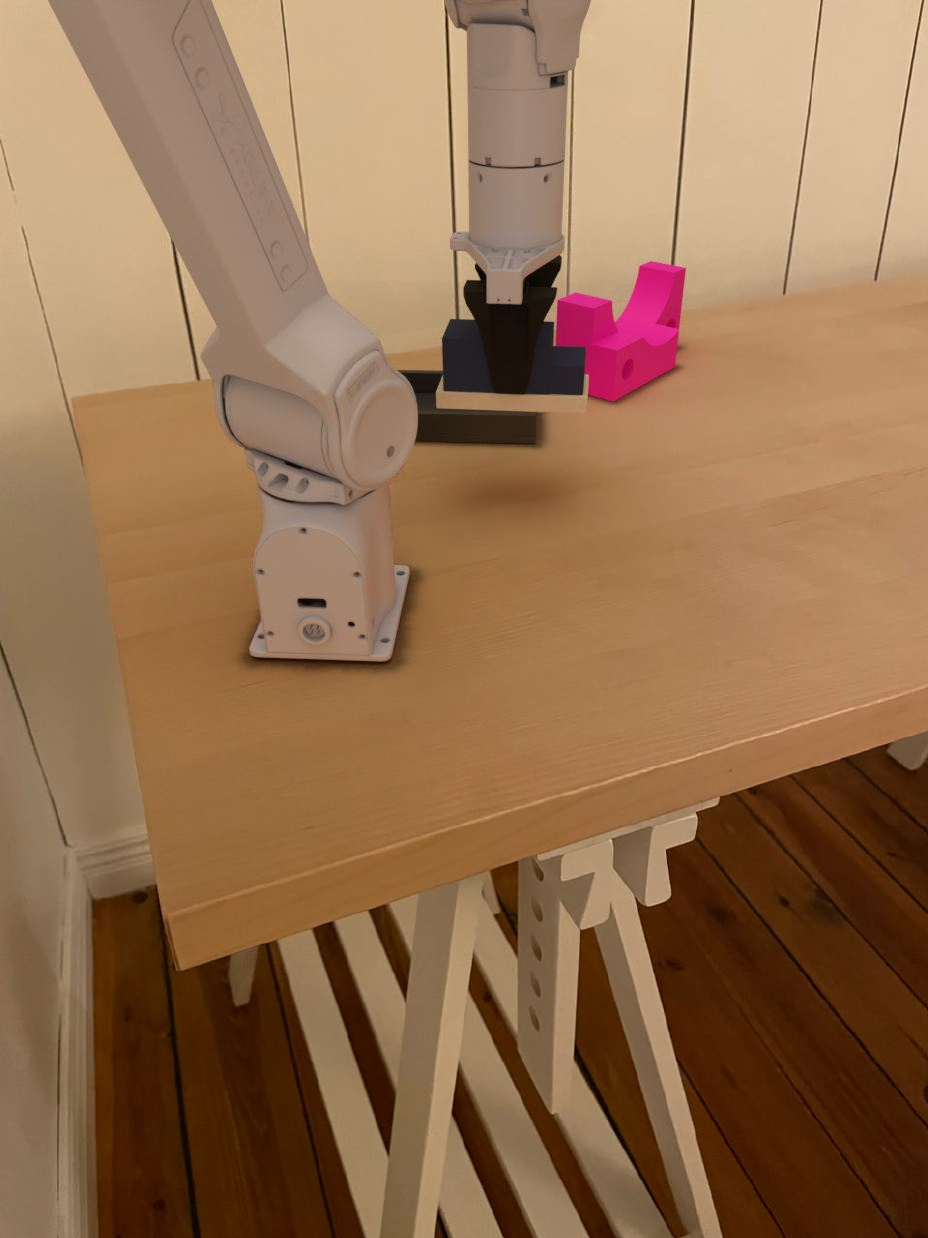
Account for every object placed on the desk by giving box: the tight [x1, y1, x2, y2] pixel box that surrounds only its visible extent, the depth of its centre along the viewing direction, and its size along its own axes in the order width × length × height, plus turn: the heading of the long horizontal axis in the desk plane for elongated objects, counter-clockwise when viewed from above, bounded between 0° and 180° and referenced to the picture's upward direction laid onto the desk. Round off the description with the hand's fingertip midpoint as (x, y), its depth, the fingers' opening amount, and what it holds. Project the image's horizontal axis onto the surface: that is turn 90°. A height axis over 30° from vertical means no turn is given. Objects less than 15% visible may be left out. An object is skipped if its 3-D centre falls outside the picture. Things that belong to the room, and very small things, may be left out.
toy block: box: [554, 260, 687, 403], centre depth 88 cm, size 15×6×8 cm, turn 140°
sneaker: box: [436, 318, 589, 415], centre depth 65 cm, size 10×4×5 cm, turn 83°
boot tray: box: [396, 369, 538, 445], centre depth 80 cm, size 9×15×2 cm, turn 86°
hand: (513, 379), depth 65 cm, fingers closed on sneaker, 4 cm apart
